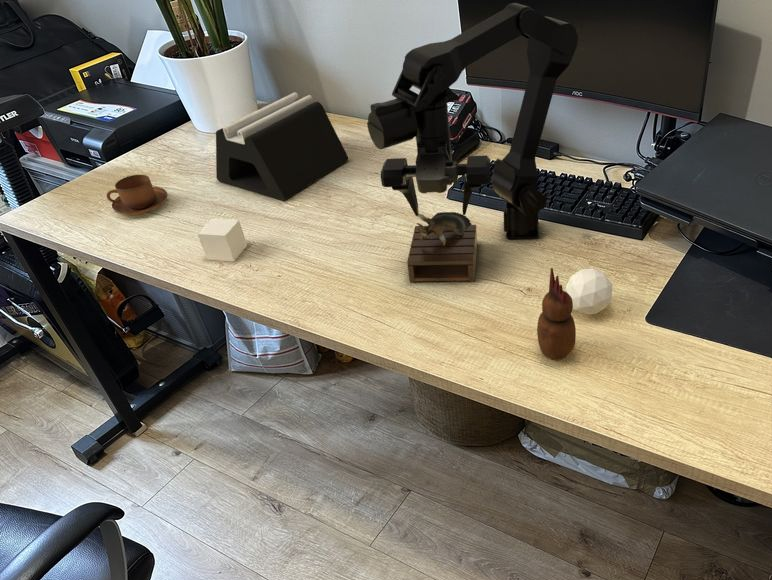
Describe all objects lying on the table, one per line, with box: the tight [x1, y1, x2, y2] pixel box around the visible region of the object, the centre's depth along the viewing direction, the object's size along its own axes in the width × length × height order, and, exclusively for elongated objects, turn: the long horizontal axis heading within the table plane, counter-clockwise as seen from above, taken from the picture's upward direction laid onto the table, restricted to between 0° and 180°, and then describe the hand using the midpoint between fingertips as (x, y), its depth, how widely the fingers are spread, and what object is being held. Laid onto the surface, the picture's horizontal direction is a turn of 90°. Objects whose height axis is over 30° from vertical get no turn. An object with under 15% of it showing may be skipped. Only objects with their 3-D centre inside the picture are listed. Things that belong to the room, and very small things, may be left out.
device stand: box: [215, 92, 349, 202], centre depth 155 cm, size 22×22×15 cm
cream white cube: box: [197, 217, 248, 262], centre depth 131 cm, size 6×6×6 cm
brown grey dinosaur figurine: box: [416, 211, 472, 245], centre depth 121 cm, size 8×7×9 cm
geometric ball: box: [565, 268, 613, 315], centre depth 110 cm, size 8×8×8 cm
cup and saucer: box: [106, 174, 168, 216], centre depth 148 cm, size 12×12×6 cm
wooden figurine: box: [536, 267, 577, 361], centre depth 100 cm, size 7×6×15 cm
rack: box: [406, 224, 478, 284], centre depth 124 cm, size 12×13×4 cm
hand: (440, 214), depth 119 cm, fingers closed on brown grey dinosaur figurine, 8 cm apart
